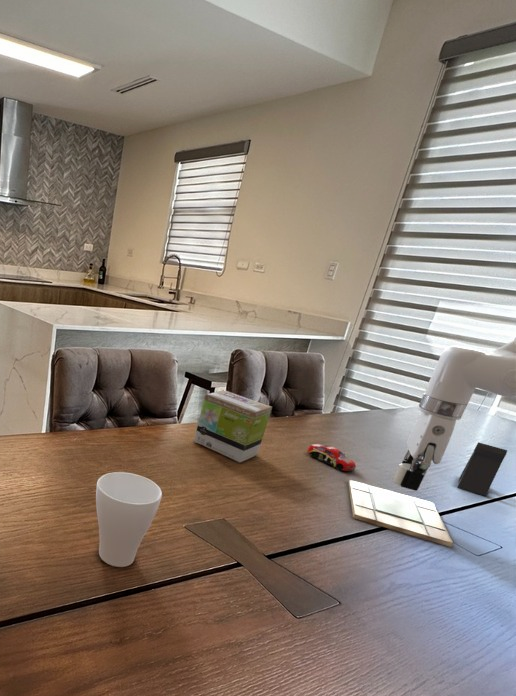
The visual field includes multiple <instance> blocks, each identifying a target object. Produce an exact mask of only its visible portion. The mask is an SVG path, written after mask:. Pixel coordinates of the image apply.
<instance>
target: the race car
mask: <svg viewBox="0 0 516 696" xmlns="http://www.w3.org/2000/svg"><path fill="white" fill-rule="evenodd" d="M306 453H308V454H309V456H310V455H311V458H313V459H318V460H320V461H322V462H324V463H325V464H328V465H330V466H331V467H332V466H333V468H336V470H337V471H345V472H353V471H355V470H356V463H355V461H353V460H352V459H350V458H349V457H348V456H346V454H345V453H343V452H342V451H341V450H340V449H338V448H337V447H334V446H332V445H328V444H320V443H313V444H311V445H309V447H308V448H307V452H306Z"/></svg>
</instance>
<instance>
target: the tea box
mask: <svg viewBox="0 0 516 696" xmlns="http://www.w3.org/2000/svg"><path fill="white" fill-rule="evenodd" d="M272 410H273V406H271V405H268V404H265V403H262V402H259V401H256V400H254V399H251V398H248V397H246V396H243V395H239V394H236V393H234V392H231V391H229V390H225V389H222V390H218V391H215V392H210V393H205V395H204V399H203V402H202V406H201V411H200V414H199V417H198V423H197V426H196V430H195V435H194V439H193V443H195V444H199V445H201V446H203V447H206V448H207V449H209V450H212V451H213V452H216V453H218V454H220V455H223V456H225V457H227V458H229V459H231V460H233V461H235V462H237V463H239V464H240V463H243V462H244V461H247V460H250V459H251V458H254V457H255V456H257V455H258V453H259V451H260V447H261V445H262V441H263V439H264V436H265V431H266V429H267V426H268V423H269V418H270V416H271V413H272Z"/></svg>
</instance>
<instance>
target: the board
mask: <svg viewBox="0 0 516 696" xmlns="http://www.w3.org/2000/svg"><path fill="white" fill-rule="evenodd" d="M347 484H348V490H349V497H350V504H351V511H352V518H353V519H356V520H359V521H363V522H366V523H369V524H372V525H376V526H379V527H381V528H385V529H389V530H392V531H395V532H400V533H403V534H406V535H409V536H412V537H416V538H418V539H419V538H420V539H423V540H425V541H429V542H432V543H436V544H439V545H442V546H446V547H450V548H452V547H453V545H454V542H453V539H452V538H451V536H450V534H449V532H448V530H447V527H446V526H445V524H444V522H443V520H442V517H441V516H440V514H439V512H438V509H437V508H436V506H435V503H434V502H432V501H429V500H425V499H421V498H417V497H414V496H411V495H407V494H403V493H399V492H395V491H393V490H389V489H386V488H385V489H384V488H381V487H378V486H373V485H370V484H366V483H363V482H359V481H356V480H352V479H349V481H348V483H347Z"/></svg>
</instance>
